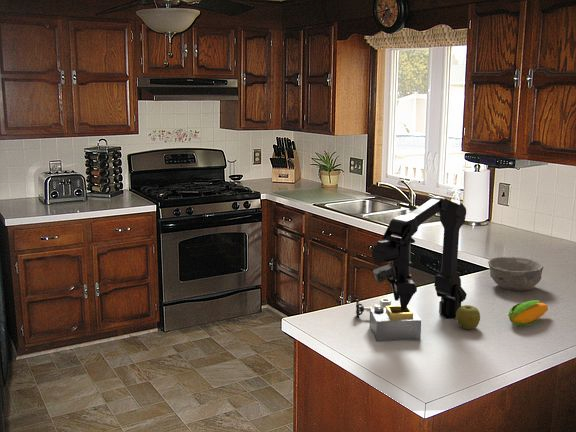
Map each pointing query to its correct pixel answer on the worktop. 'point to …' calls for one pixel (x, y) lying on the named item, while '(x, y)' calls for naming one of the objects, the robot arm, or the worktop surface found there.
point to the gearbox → (395, 324)
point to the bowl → (515, 272)
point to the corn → (527, 312)
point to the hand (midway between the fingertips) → (399, 305)
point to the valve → (361, 308)
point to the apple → (468, 317)
